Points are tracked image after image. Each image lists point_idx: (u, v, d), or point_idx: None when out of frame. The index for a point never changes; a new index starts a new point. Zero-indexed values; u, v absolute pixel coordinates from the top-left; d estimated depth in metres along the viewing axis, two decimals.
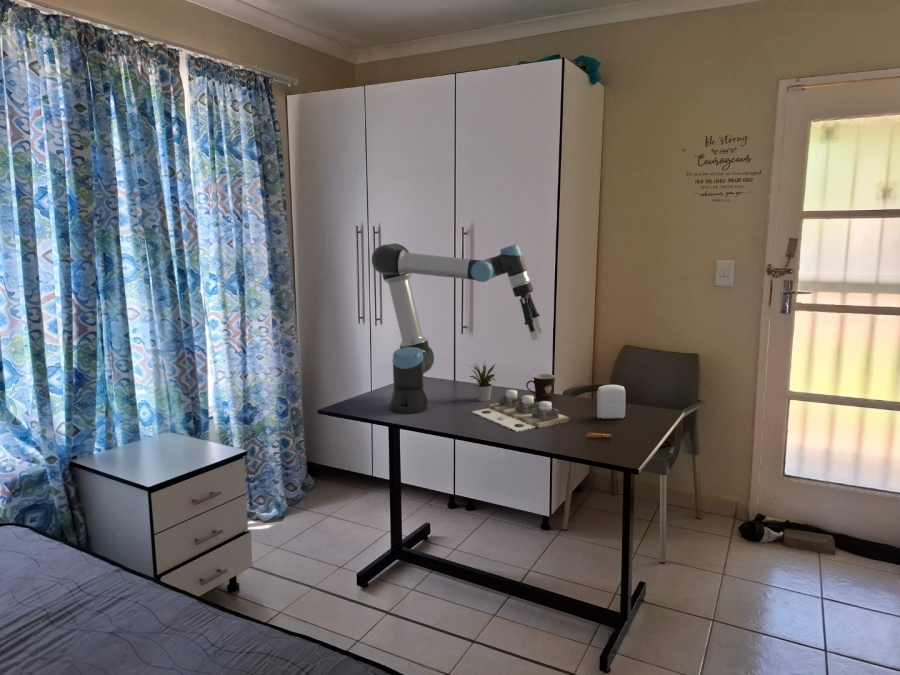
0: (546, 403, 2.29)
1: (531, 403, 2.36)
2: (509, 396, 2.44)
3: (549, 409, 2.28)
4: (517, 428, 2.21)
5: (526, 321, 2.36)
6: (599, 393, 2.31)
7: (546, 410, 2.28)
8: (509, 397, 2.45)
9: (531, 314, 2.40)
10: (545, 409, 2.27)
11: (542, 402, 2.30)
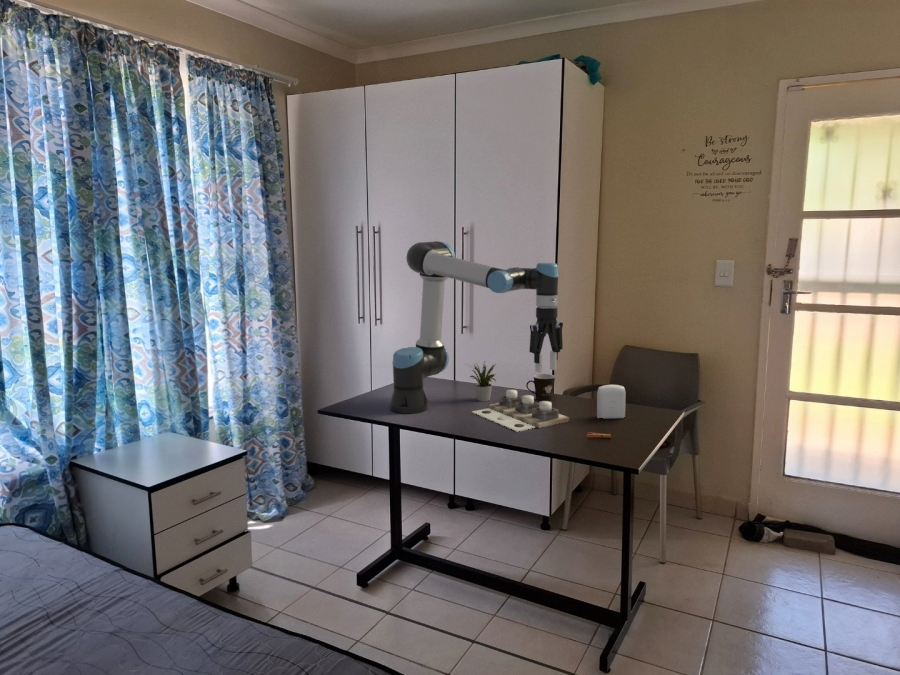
0: (546, 403, 2.29)
1: (531, 403, 2.36)
2: (509, 396, 2.44)
3: (549, 409, 2.28)
4: (517, 428, 2.21)
5: (530, 351, 2.23)
6: (599, 393, 2.31)
7: (546, 410, 2.28)
8: (509, 397, 2.45)
9: (540, 344, 2.23)
10: (545, 409, 2.27)
11: (542, 402, 2.30)
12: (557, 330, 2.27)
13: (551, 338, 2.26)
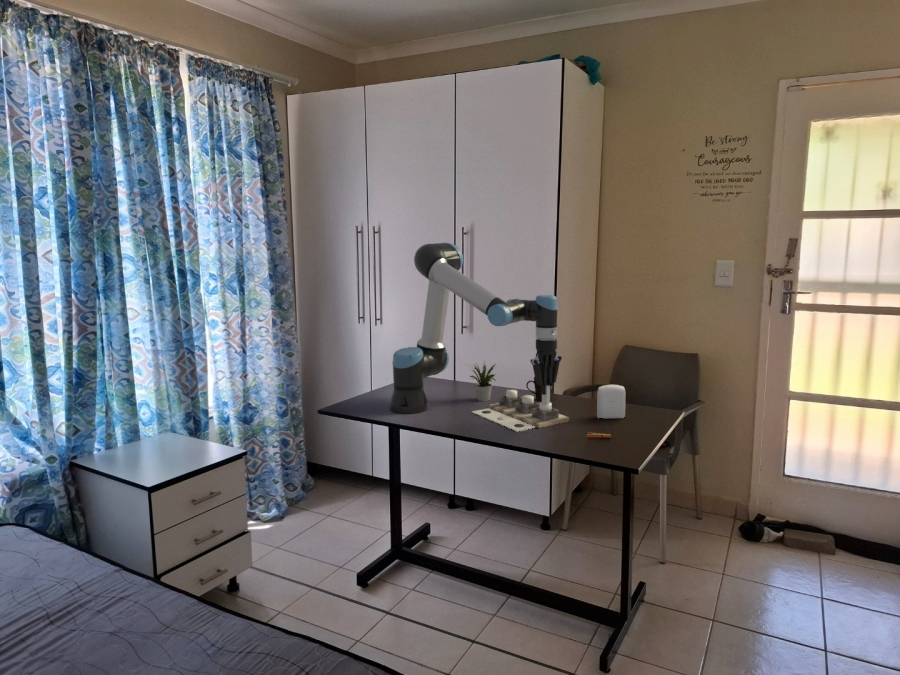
0: None
1: (531, 403, 2.36)
2: (509, 396, 2.44)
3: (549, 410, 2.28)
4: (517, 428, 2.21)
5: (537, 383, 2.27)
6: (599, 393, 2.31)
7: (546, 411, 2.28)
8: (509, 397, 2.45)
9: (545, 376, 2.26)
10: (545, 409, 2.28)
11: (542, 403, 2.30)
12: (554, 363, 2.29)
13: (547, 370, 2.27)
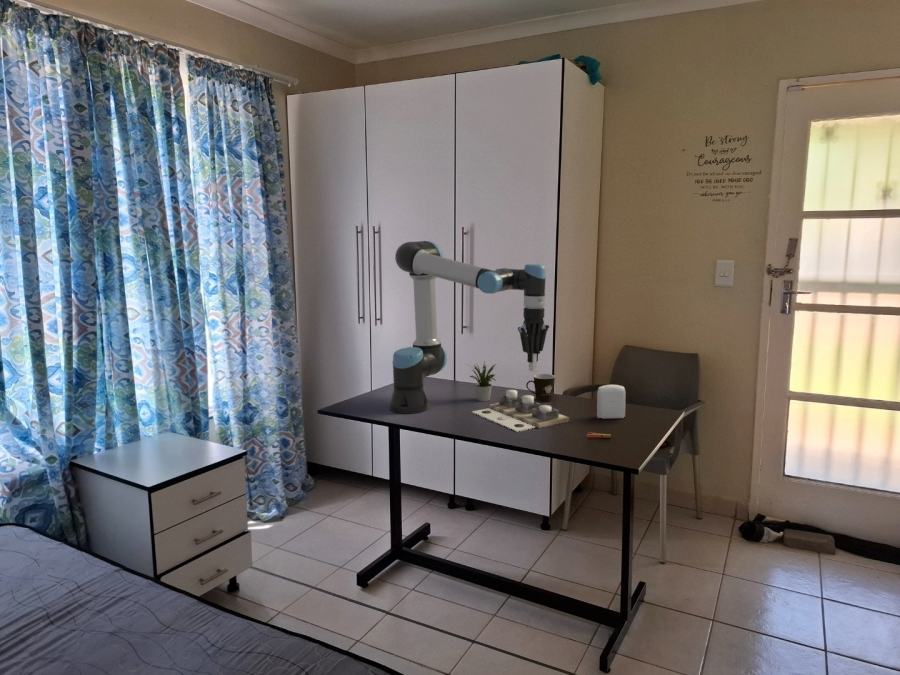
0: (546, 407, 2.29)
1: (531, 403, 2.36)
2: (509, 396, 2.44)
3: None
4: (517, 428, 2.21)
5: (523, 351, 2.31)
6: (599, 393, 2.31)
7: None
8: (509, 397, 2.45)
9: (532, 344, 2.30)
10: None
11: (542, 406, 2.30)
12: (542, 331, 2.33)
13: (534, 338, 2.31)
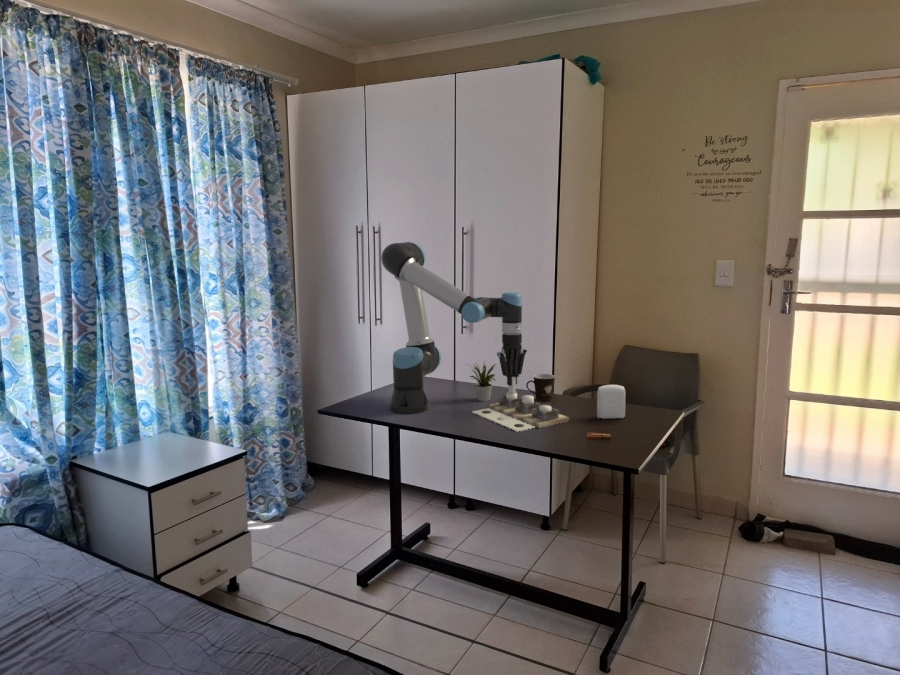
0: (546, 407, 2.29)
1: (531, 403, 2.36)
2: (509, 398, 2.45)
3: None
4: (517, 428, 2.21)
5: (503, 374, 2.44)
6: (599, 393, 2.31)
7: None
8: None
9: (511, 368, 2.43)
10: None
11: (542, 406, 2.30)
12: (520, 355, 2.46)
13: (513, 362, 2.44)
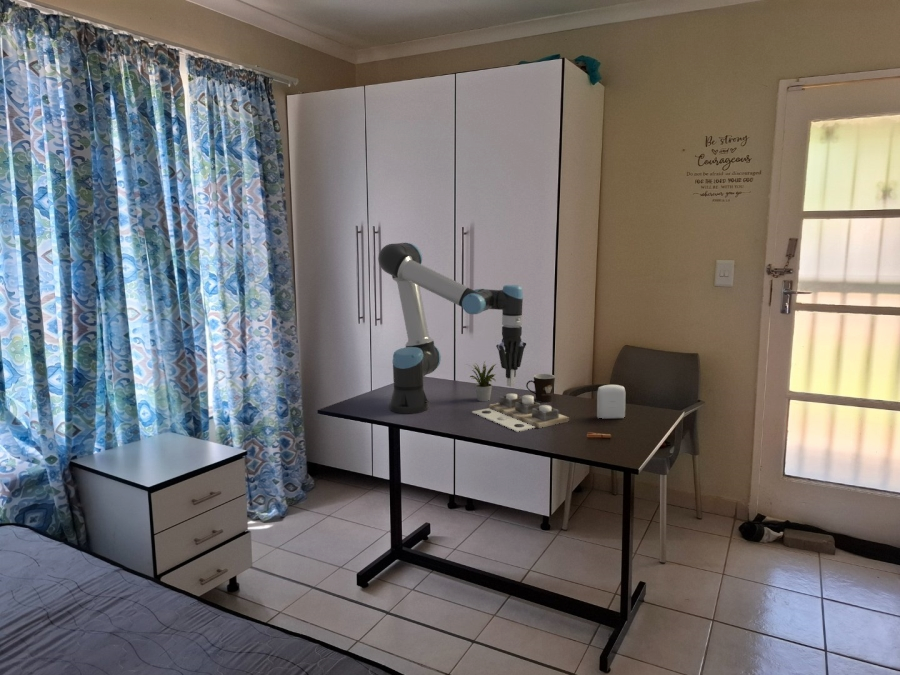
0: (546, 407, 2.29)
1: (531, 403, 2.36)
2: None
3: None
4: (517, 428, 2.21)
5: (502, 367, 2.43)
6: (599, 393, 2.31)
7: None
8: None
9: (510, 361, 2.42)
10: None
11: (542, 406, 2.30)
12: (519, 348, 2.45)
13: (512, 355, 2.44)
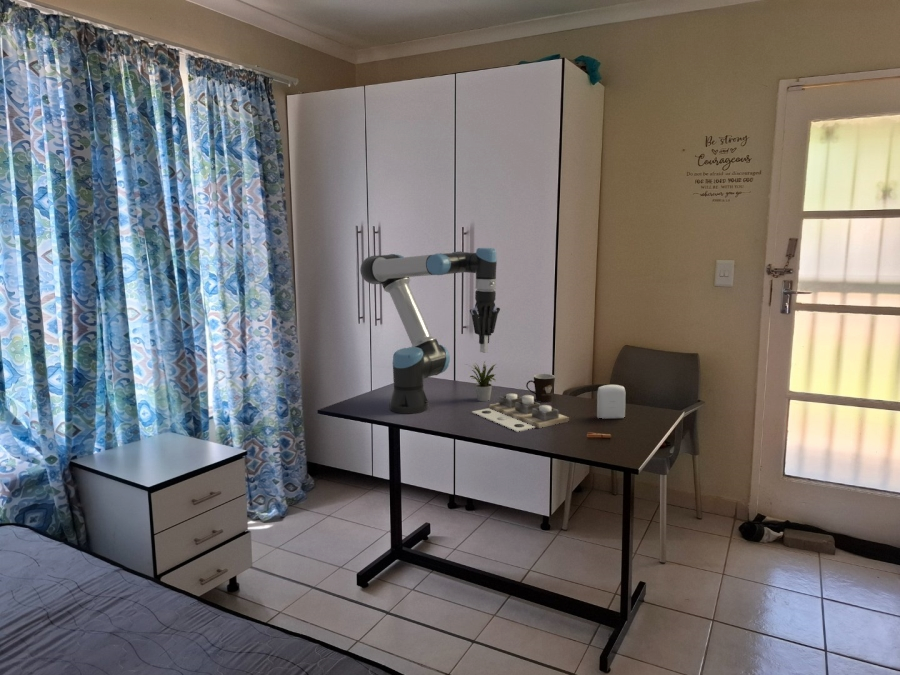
0: (546, 407, 2.29)
1: (531, 403, 2.36)
2: None
3: None
4: (517, 428, 2.21)
5: (475, 332, 2.36)
6: (599, 393, 2.31)
7: None
8: None
9: (483, 326, 2.36)
10: None
11: (542, 406, 2.30)
12: (493, 314, 2.39)
13: (486, 320, 2.37)
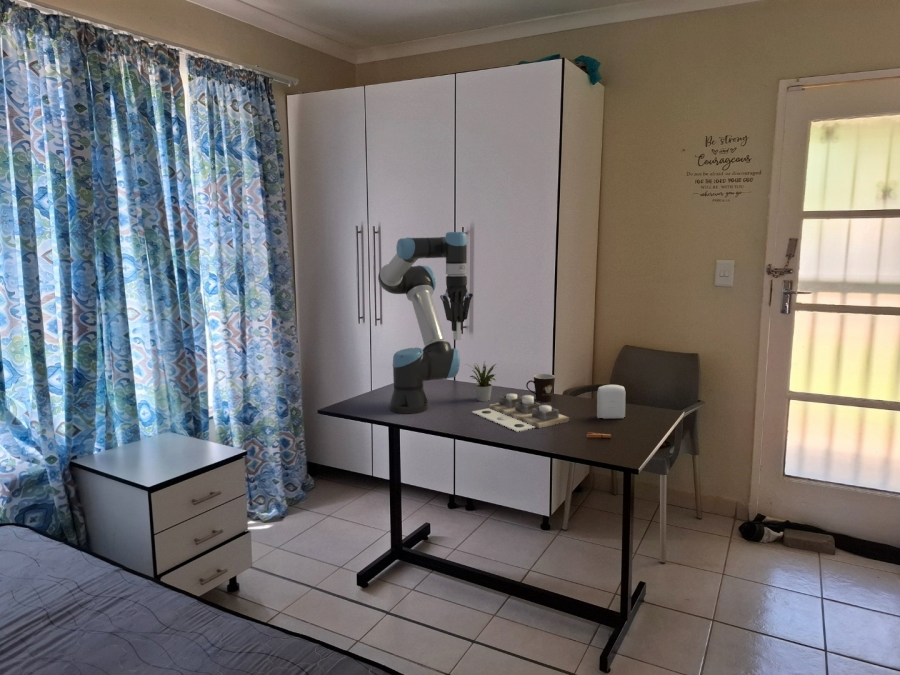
0: (546, 407, 2.29)
1: (531, 403, 2.36)
2: None
3: None
4: (517, 428, 2.21)
5: (447, 319, 2.30)
6: (599, 393, 2.31)
7: None
8: None
9: (455, 312, 2.29)
10: None
11: (542, 406, 2.30)
12: (466, 300, 2.32)
13: (458, 307, 2.31)
